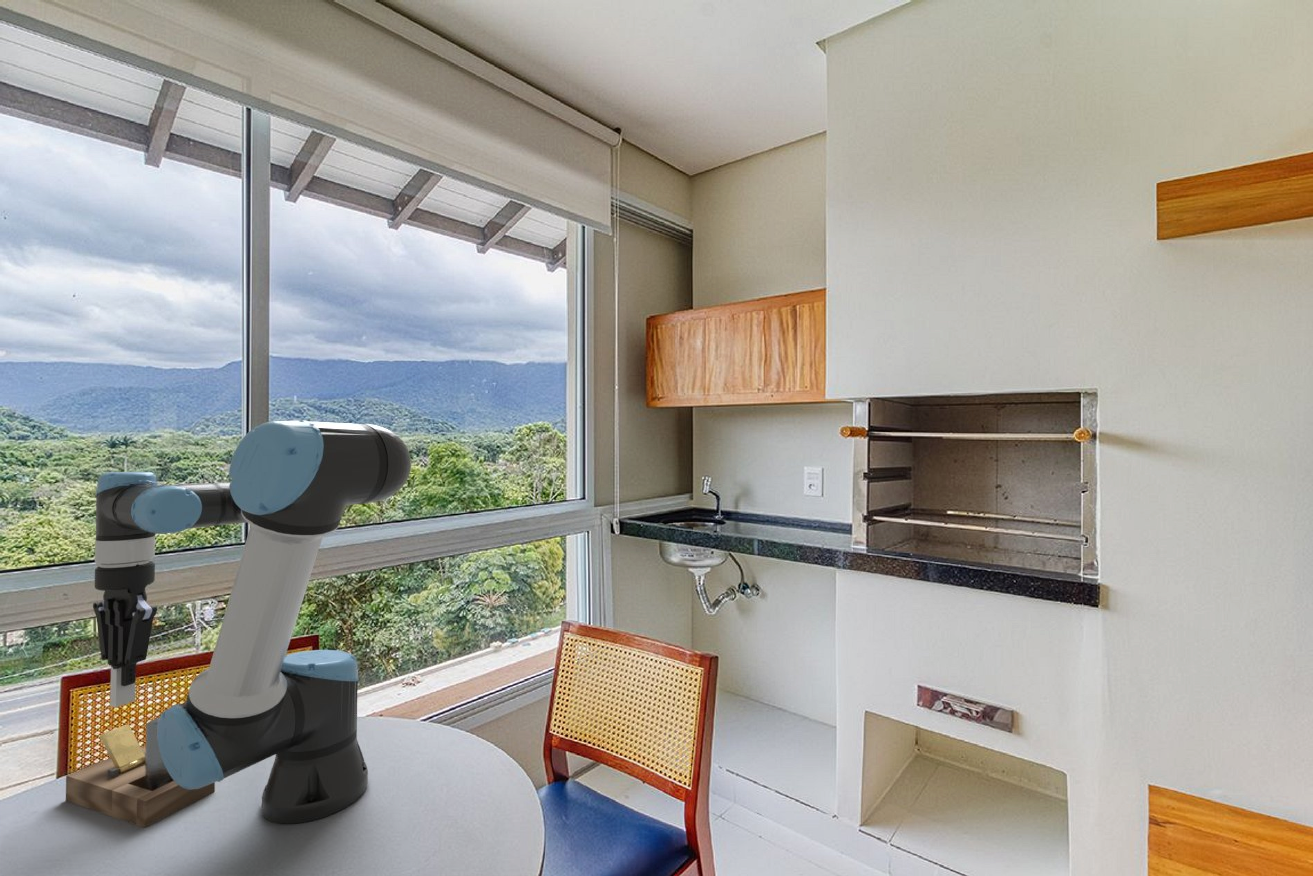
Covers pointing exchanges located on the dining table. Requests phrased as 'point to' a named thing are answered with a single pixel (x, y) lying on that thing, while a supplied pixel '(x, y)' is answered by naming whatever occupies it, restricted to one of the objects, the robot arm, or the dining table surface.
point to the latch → (123, 748)
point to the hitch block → (128, 793)
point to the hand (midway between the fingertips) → (122, 703)
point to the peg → (154, 760)
